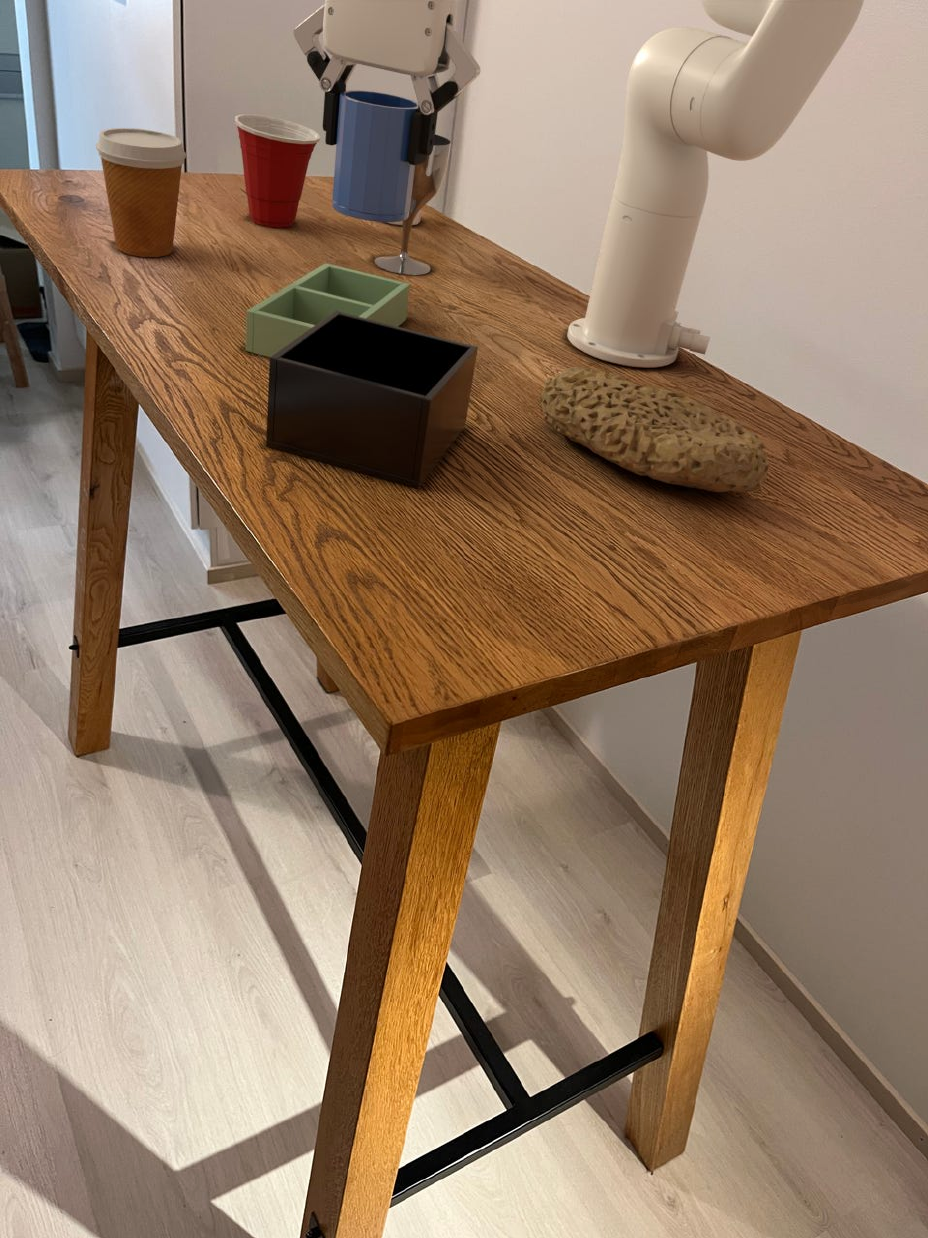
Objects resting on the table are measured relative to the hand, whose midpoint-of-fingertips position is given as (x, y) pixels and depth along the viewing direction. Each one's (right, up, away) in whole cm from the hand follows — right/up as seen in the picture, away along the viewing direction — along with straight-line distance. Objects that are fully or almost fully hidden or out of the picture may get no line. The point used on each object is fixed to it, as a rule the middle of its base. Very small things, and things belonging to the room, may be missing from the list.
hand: (376, 150), depth 87 cm
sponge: (+24, -26, +4) cm, 36 cm away
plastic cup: (-18, +12, +48) cm, 53 cm away
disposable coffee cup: (-30, +3, +31) cm, 43 cm away
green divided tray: (-6, -11, +18) cm, 22 cm away
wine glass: (0, +4, +41) cm, 41 cm away
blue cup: (-1, -4, +3) cm, 5 cm away
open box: (-1, -25, 0) cm, 25 cm away
